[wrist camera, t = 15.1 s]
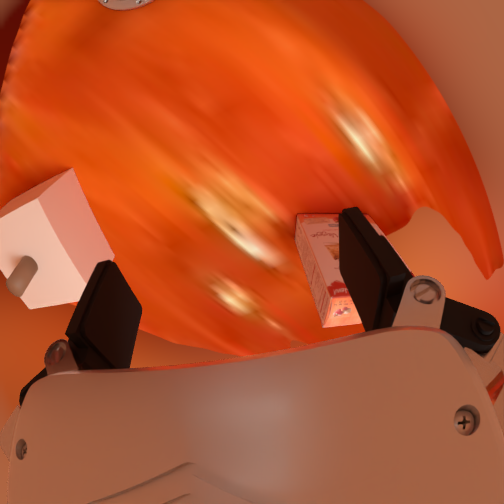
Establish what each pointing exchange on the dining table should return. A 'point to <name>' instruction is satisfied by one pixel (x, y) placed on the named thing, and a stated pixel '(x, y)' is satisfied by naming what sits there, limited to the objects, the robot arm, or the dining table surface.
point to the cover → (50, 242)
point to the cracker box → (326, 267)
